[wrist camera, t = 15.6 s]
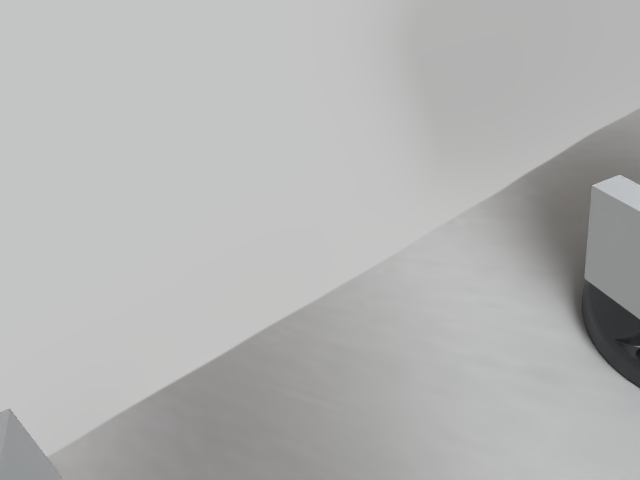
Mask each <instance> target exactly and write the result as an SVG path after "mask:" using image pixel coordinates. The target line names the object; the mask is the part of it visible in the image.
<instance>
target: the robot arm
mask: <svg viewBox="0 0 640 480" xmlns="http://www.w3.org/2000/svg"><path fill="white" fill-rule="evenodd" d="M584 278H585V279H586V280H587V282H586V285H585V288H584V291H583V296H582V313H583V318H584V322H585V325H586V328H587V331H588V333H589V335H590V337H591V339H592V341H593V342H594V344H595V346H596V347H597V349H598V350H599V351H600V353H601V354H602V355H603V356H604V358H605V359H606V360H607V361H608V362H609V363H610V364H611V365H612V366H613V367H614V368H615V369H616V370H617V371H618V372H620V373H621V374H622V375H623V376H625V377H626V378H627V379H629V380H630V381H631V382H633V383H634V384H636V385H637V386H639V387H640V185H639V184H637V183H635V182H633V181H631V180H629V179H627V178H625V177H623V176H621V175H617V176H615V177H612V178H610V179H607V180H604V181H602V182H599V183H597V184H594V185H592V189H591V201H590V214H589V226H588V239H587V251H586V264H585V276H584ZM0 480H64V479H63V478H62V477H61V475H60V474H59V473H58V471H57V470H56V469H55V467H54V466H53V465H52V463H51V462H50V461H49V459H48V458H47V457H46V456H45V454H44V453H43V452H42V450H41V449H40V448H39V446H38V445H37V444H36V442H35V441H34V440H33V439H32V437H31V436H30V435H29V433H28V432H27V431H26V430H25V428H24V427H23V425H22V424H21V423H20V421H19V420H18V419H17V417H16V416H15V415H14V414H13V412H12V411H11V410H10V409H8V410H5V411H3V412H0Z"/></svg>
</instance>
